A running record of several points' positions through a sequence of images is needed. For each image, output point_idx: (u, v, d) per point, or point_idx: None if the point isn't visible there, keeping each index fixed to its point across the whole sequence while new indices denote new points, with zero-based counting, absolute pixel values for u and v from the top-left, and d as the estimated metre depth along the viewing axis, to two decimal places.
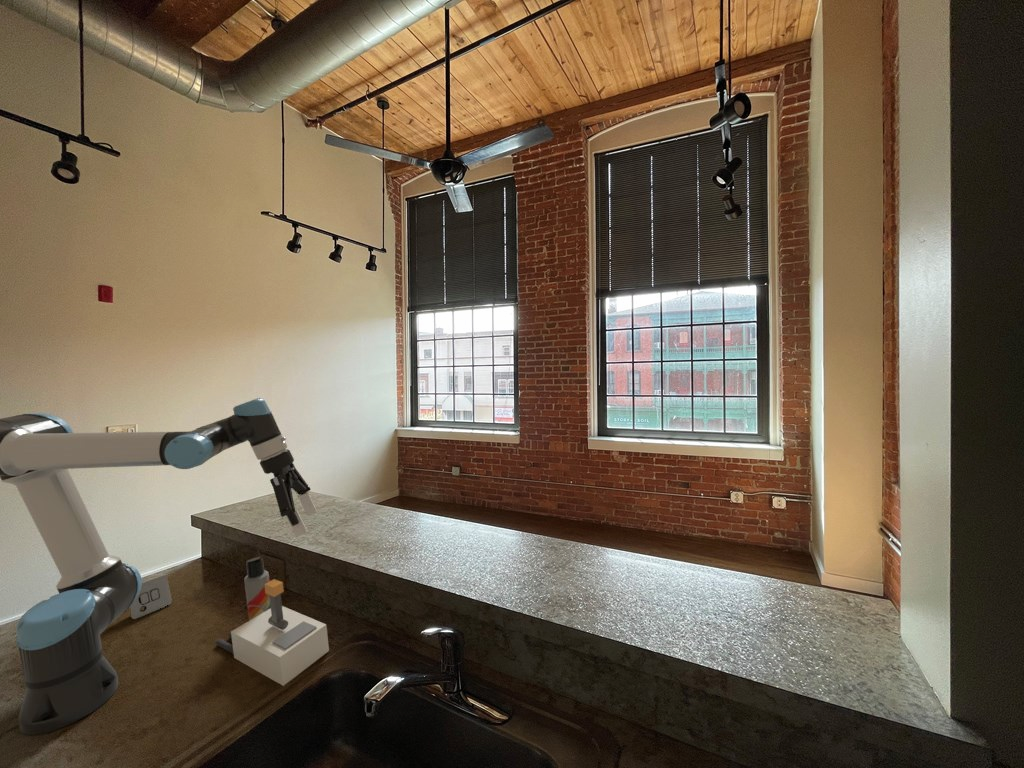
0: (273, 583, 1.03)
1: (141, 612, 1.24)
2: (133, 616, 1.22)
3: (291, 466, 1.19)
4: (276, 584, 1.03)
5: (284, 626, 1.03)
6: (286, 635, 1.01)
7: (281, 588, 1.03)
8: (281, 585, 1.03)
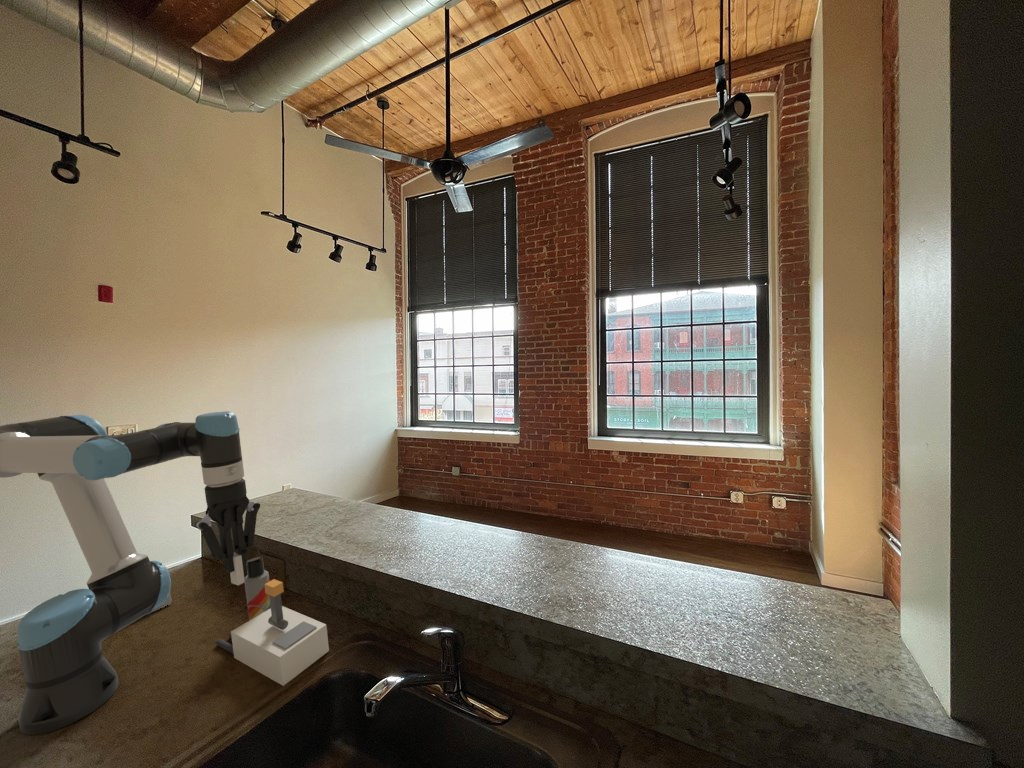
0: (273, 583, 1.03)
1: None
2: None
3: (254, 506, 0.98)
4: (276, 584, 1.03)
5: (284, 626, 1.03)
6: (286, 635, 1.01)
7: (281, 588, 1.03)
8: (281, 585, 1.03)
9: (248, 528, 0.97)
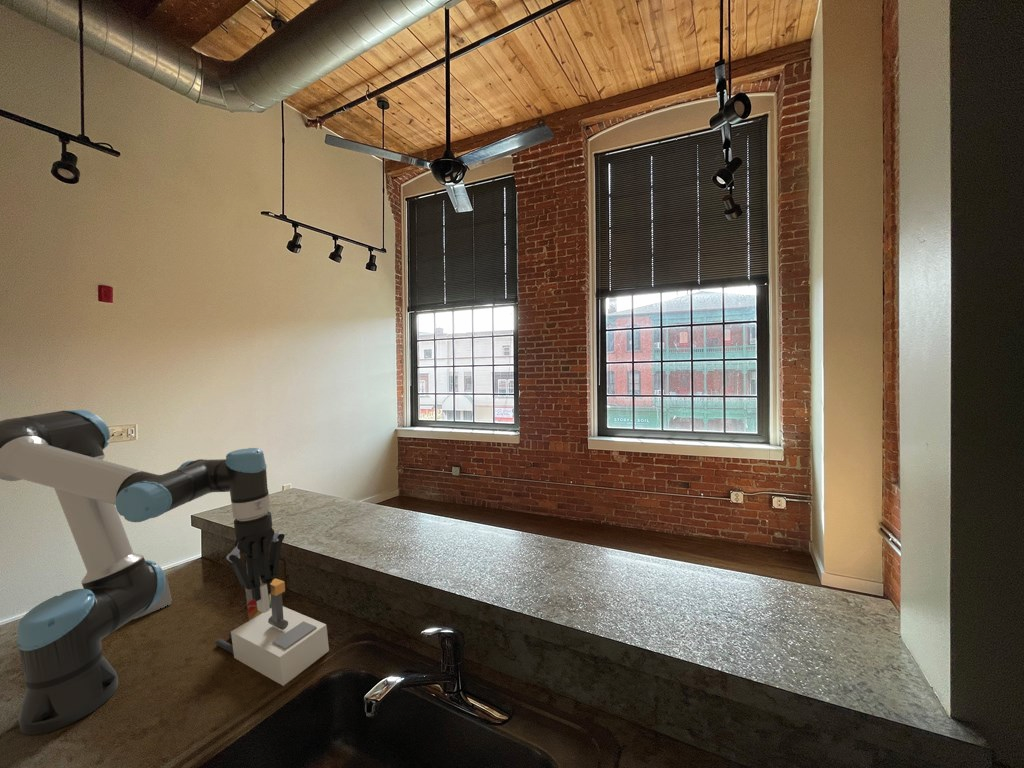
0: (275, 582, 1.03)
1: None
2: None
3: (278, 536, 1.03)
4: (278, 583, 1.03)
5: (284, 626, 1.03)
6: (286, 635, 1.01)
7: (283, 587, 1.04)
8: (283, 584, 1.04)
9: (273, 558, 1.02)
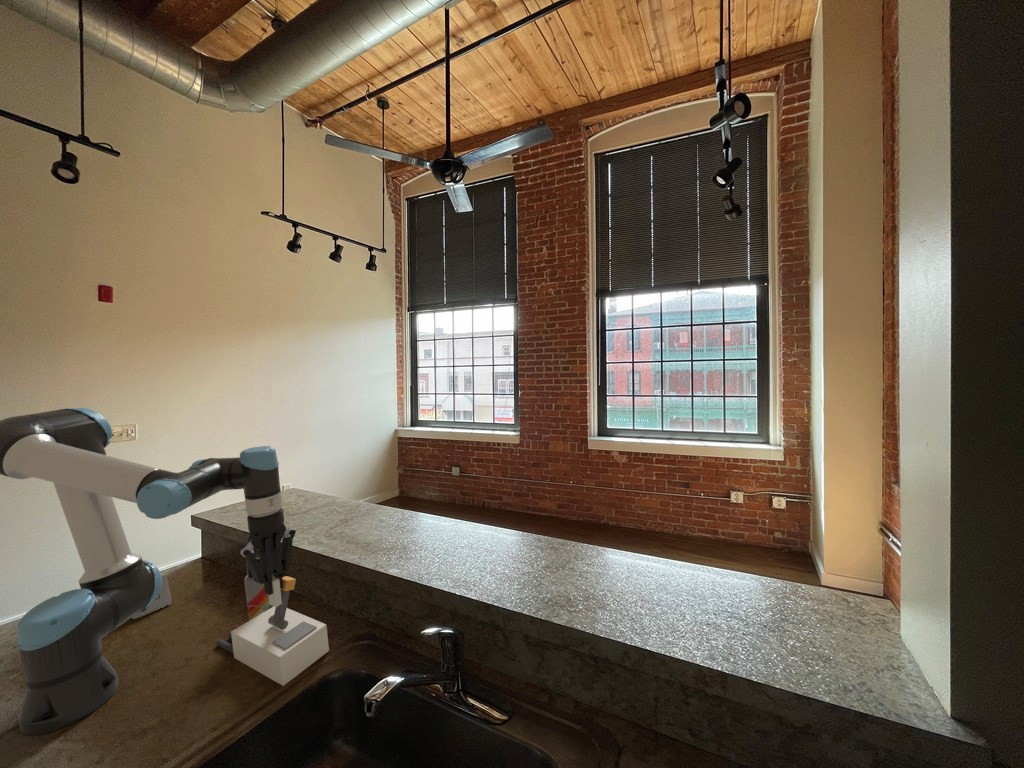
0: (287, 578, 1.06)
1: (141, 612, 1.24)
2: (133, 616, 1.22)
3: (290, 532, 1.06)
4: (290, 579, 1.06)
5: (284, 626, 1.03)
6: (286, 635, 1.01)
7: (293, 585, 1.06)
8: (294, 581, 1.06)
9: (285, 553, 1.05)
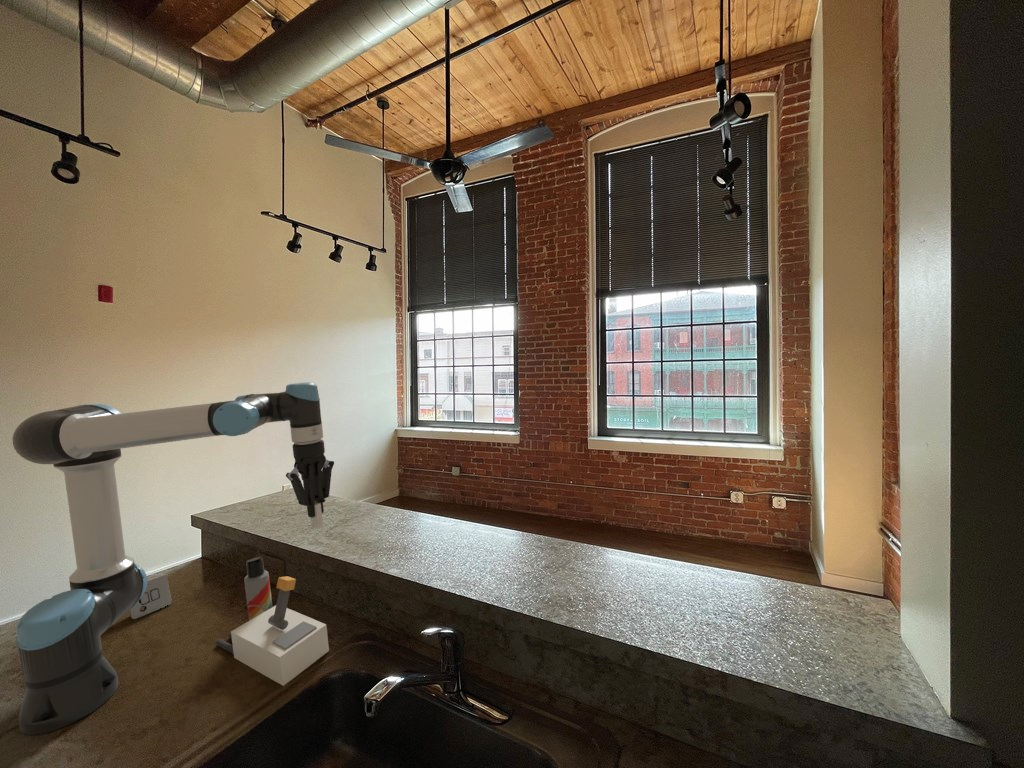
0: (287, 578, 1.06)
1: (141, 612, 1.24)
2: (133, 616, 1.22)
3: (329, 463, 1.16)
4: (290, 579, 1.06)
5: (284, 626, 1.03)
6: (286, 635, 1.01)
7: (293, 585, 1.06)
8: (294, 581, 1.06)
9: (325, 481, 1.15)
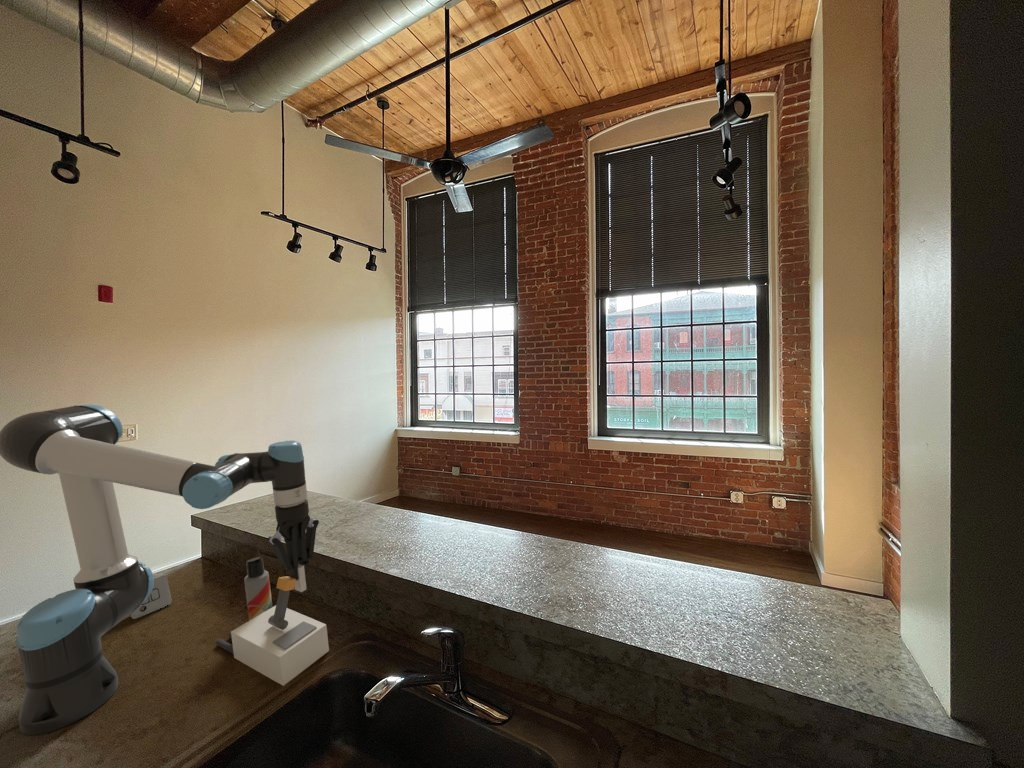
0: (287, 578, 1.06)
1: (141, 612, 1.24)
2: (133, 616, 1.22)
3: (314, 522, 1.12)
4: (290, 579, 1.06)
5: (284, 626, 1.03)
6: (286, 635, 1.01)
7: (293, 585, 1.06)
8: (294, 581, 1.06)
9: (309, 542, 1.11)
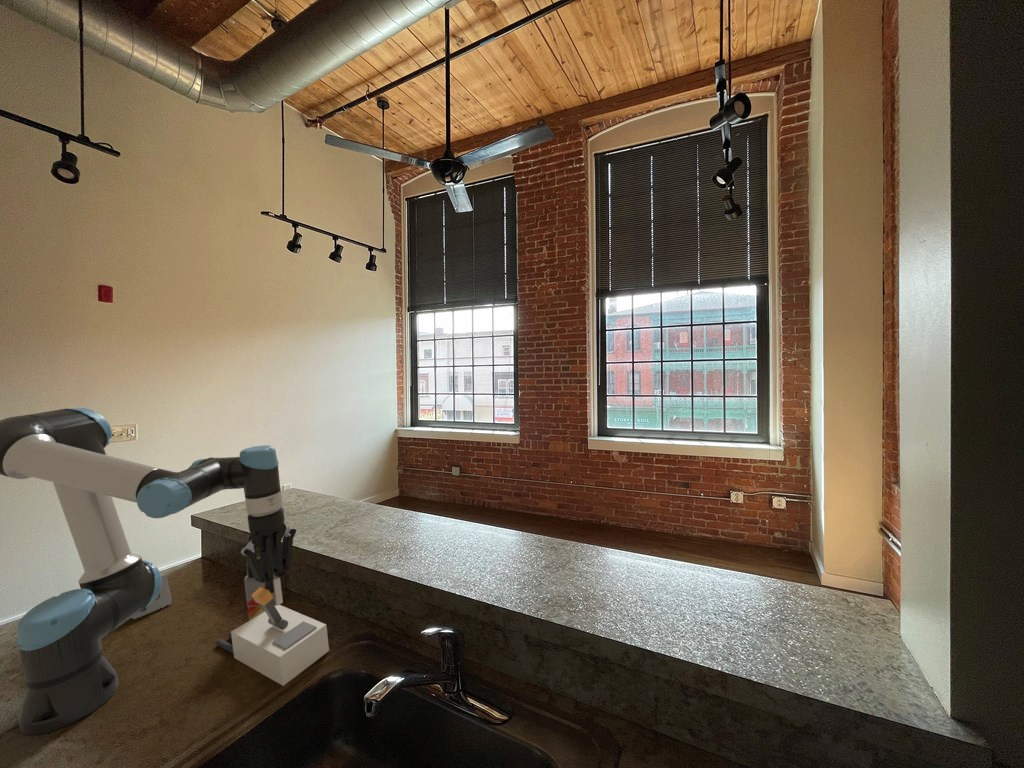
0: (260, 593, 1.00)
1: (141, 612, 1.24)
2: (133, 616, 1.22)
3: (290, 531, 1.06)
4: (263, 594, 1.00)
5: (284, 626, 1.03)
6: (286, 635, 1.01)
7: (269, 595, 1.01)
8: (268, 593, 1.00)
9: (285, 552, 1.05)
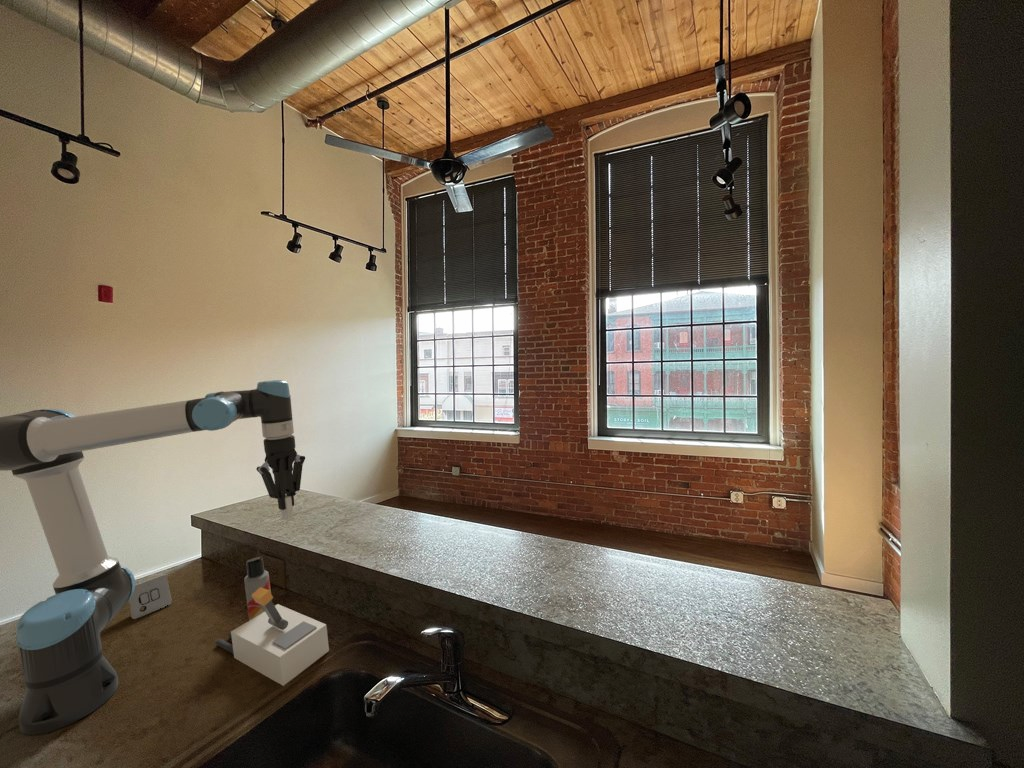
0: (260, 593, 1.00)
1: (141, 612, 1.24)
2: (133, 616, 1.22)
3: (300, 458, 1.21)
4: (263, 594, 1.00)
5: (284, 626, 1.03)
6: (286, 635, 1.01)
7: (269, 596, 1.01)
8: (268, 593, 1.00)
9: (296, 475, 1.20)
